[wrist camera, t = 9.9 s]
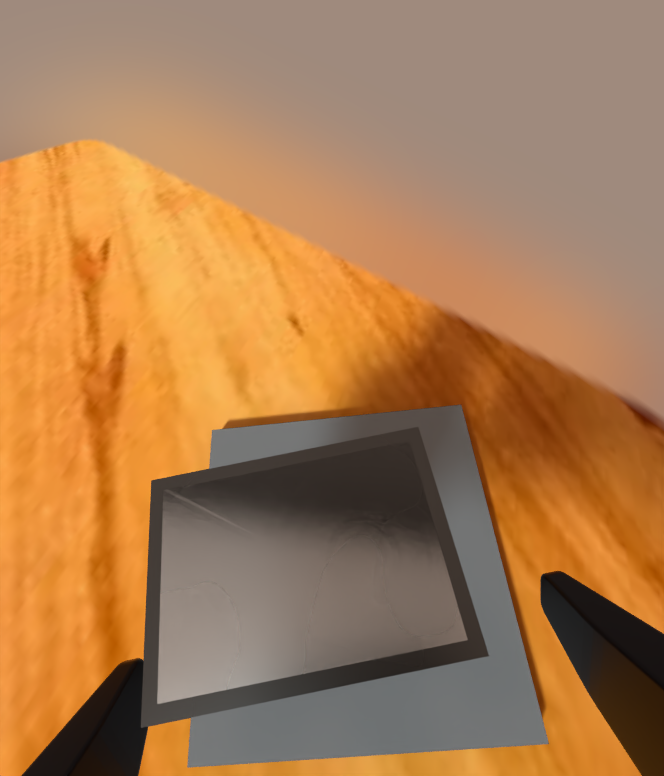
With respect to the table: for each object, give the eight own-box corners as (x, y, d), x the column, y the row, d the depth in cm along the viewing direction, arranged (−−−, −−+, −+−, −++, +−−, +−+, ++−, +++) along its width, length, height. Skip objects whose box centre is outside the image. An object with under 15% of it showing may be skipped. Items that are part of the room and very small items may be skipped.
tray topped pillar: (419, 610, 14) (663, 846, 3) (299, 635, 14) (20, 982, 3) (388, 487, 17) (450, 324, 5) (284, 508, 17) (95, 395, 5)
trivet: (538, 733, 13) (548, 743, 12) (196, 756, 14) (187, 767, 13) (457, 410, 19) (461, 404, 18) (217, 434, 19) (212, 430, 19)
